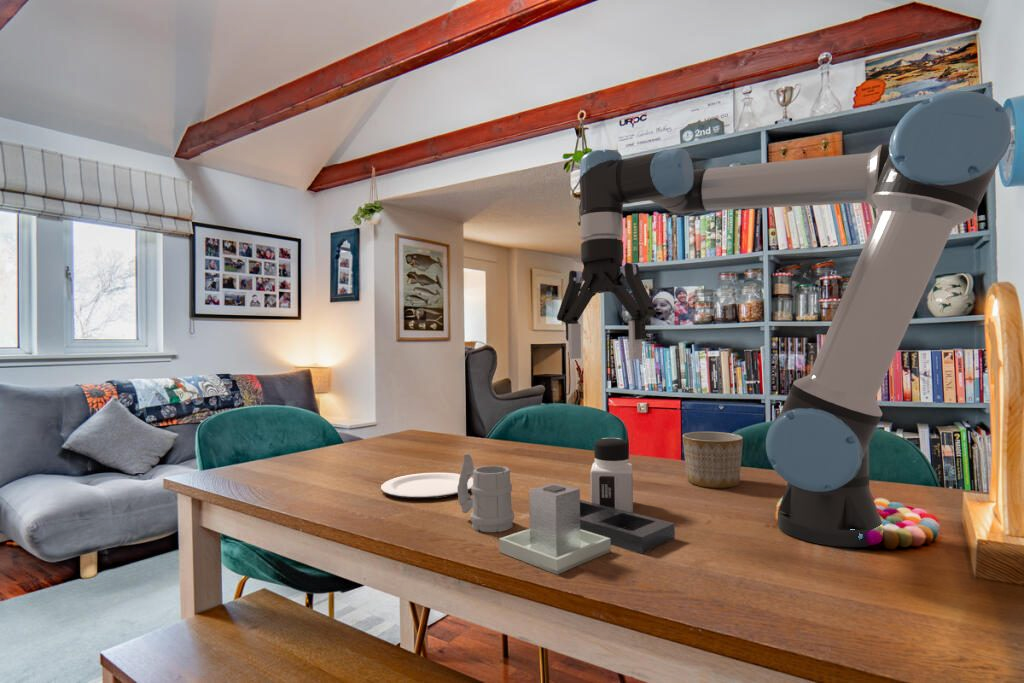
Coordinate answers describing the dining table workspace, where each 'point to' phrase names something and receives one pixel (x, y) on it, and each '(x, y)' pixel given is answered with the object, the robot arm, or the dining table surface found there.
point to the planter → (713, 458)
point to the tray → (521, 550)
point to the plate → (424, 485)
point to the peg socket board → (612, 520)
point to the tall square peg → (554, 519)
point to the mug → (486, 496)
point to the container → (612, 475)
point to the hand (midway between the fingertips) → (603, 359)
